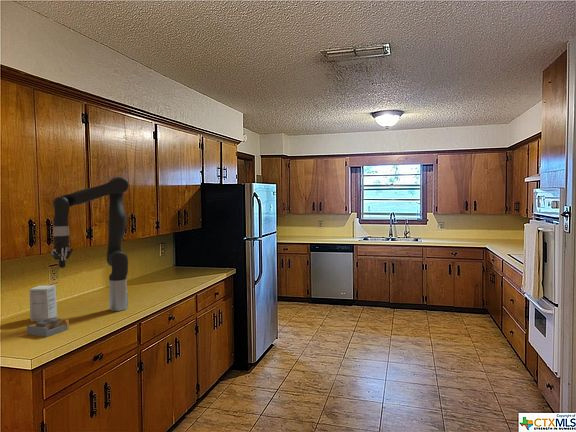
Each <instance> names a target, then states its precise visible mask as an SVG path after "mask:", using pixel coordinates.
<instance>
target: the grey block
mask: <svg viewBox="0 0 576 432" xmlns="http://www.w3.org/2000/svg"><path fill="white" fill-rule="evenodd" d="M35 326H38V327H46V328H48V330H51V329H54V328H56V327H59V326H62V318H57V317H54V318H49V319H46V320H43V321H35Z"/></svg>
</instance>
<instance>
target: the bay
mask: <svg viewBox="0 0 576 432" xmlns="http://www.w3.org/2000/svg"><path fill="white" fill-rule="evenodd" d="M48 319H49V318H48ZM69 330H70V319H66V320H64V324H63V325H62V326H59V327H56V328H54V329H51V330H48V328H46V327H38V326H36V325H30V324H29V325H26V335H28V336H29V335H30V336H35V337H36V336H37V337H41V338H48V337H51V336H53V335H57V334H59V333H62V332H65V331H69Z"/></svg>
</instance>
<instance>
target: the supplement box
mask: <svg viewBox="0 0 576 432" xmlns="http://www.w3.org/2000/svg"><path fill="white" fill-rule="evenodd" d="M28 293H29V311H30V312H29V314H30V315H29V316H30V322H39V321H43V320H46V319H48V318H57V317H58V305H57V303H58V301H57V286H56V285H37V286H35V287H32V288H30V289H29V292H28Z"/></svg>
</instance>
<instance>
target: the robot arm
mask: <svg viewBox="0 0 576 432" xmlns="http://www.w3.org/2000/svg"><path fill="white" fill-rule="evenodd" d="M128 189H129V181H128V179H126V178H125V177H122V176H117V177H113V178H111V179H110V180H109V182H105V183H103V184H100V185H96V186H91V187H87V188H84V189H80V190H78V191H74V192H71V193H68V194H64V195H60V197H59V196H57V197H55V199H54V198H53V199H54V201H53V200H52V201H53V206H54V207H53V206H52V207H53V209H54V215H53V218H54V219H53V223H52V224H53V225H54V226H53V227H54V228H52V238H53V239H52V241H53V242H52V243H53V245H54V246H53V250H50V251H49V253H50V254H51V256H52V257H53V259H54V260H56V261H58V267H59V268H60V269H64V268H65V267H66V260H67V259H69V257H70V256H71V254H72V252H73V251H74V249H73V248H71V247H70V242H71V241H70V227H69V226H70V225H69V213H70V207H74V206H77V205H78V206H79V205H82V204H84V203H85V204H87V203H88V202H92V201H94V200H96V199H100V198H102V197H106V196H108V197H109V206H108V225H107V226H108V238H107V239H108V242H107V243H108V245H107V251H106V262H107V264H108V265H109V266H110V267H111V273H110V274H109V276H108V285H109V287H108V289H109V291H108V292H109V294H108V295H109V310H110V311H111V312H121V311H125V310H128V308H129V292H128V288H127V287H128V286H127V285H128V284H127V283H128V282H127V280H128V279H127V276H128V273H129V258H128V254H127V253H125V252H123V251H122V240H123V239H124V238H123V237H124V235H125V232H126V227H127V226H126V225H127V216H126V215H127V214H126V211H125V210H126V209H125V206H124V193H125V192H127V190H128Z"/></svg>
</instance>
